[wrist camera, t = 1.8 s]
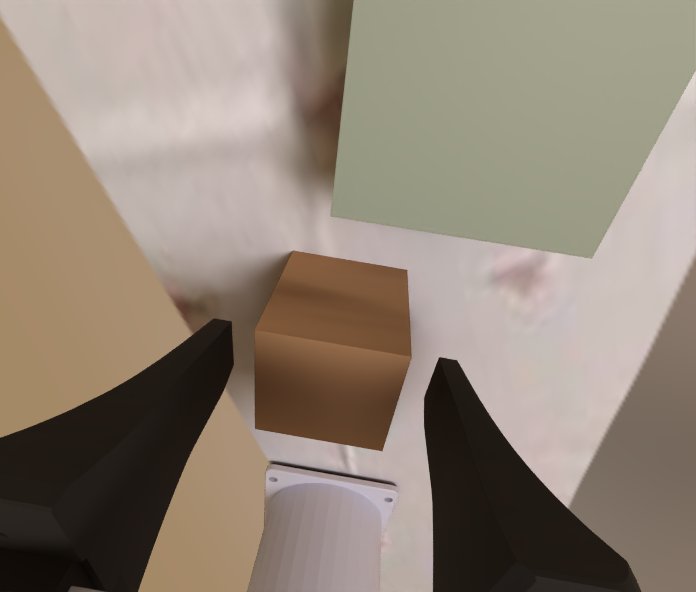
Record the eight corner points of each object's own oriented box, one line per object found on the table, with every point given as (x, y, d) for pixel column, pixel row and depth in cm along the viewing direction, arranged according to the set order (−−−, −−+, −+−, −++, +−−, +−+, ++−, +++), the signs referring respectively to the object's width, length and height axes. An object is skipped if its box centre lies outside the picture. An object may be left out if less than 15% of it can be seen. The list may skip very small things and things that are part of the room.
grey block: (528, 188, 13) (591, 258, 9) (351, 160, 13) (330, 216, 9) (622, -49, 9) (800, -120, 5) (383, -85, 10) (372, -182, 5)
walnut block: (385, 353, 17) (382, 451, 13) (288, 336, 17) (254, 429, 13) (407, 269, 15) (411, 357, 11) (293, 249, 15) (254, 329, 11)
